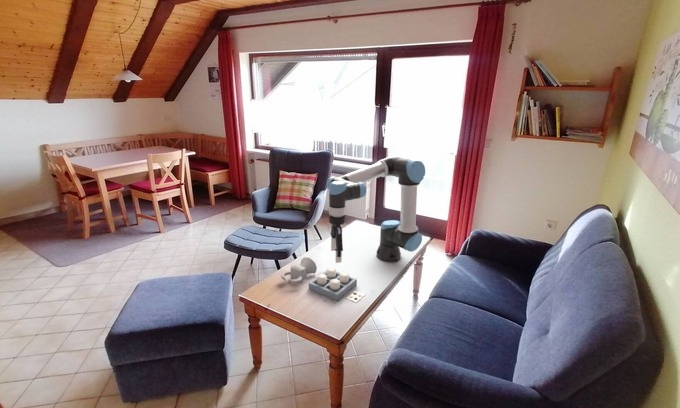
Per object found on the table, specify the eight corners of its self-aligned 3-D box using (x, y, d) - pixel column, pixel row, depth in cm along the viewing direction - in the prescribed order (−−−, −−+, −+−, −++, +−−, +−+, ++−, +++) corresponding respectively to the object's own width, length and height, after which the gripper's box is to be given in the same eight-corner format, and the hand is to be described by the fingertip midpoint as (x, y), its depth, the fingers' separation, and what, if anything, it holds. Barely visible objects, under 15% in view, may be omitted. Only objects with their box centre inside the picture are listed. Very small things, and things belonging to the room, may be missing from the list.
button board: (329, 275, 190) (329, 268, 189) (356, 285, 181) (356, 279, 179) (308, 289, 176) (308, 282, 175) (337, 301, 166) (337, 294, 165)
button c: (342, 277, 182) (342, 271, 180) (350, 281, 179) (351, 274, 178) (337, 282, 178) (337, 275, 176) (345, 285, 175) (345, 278, 174)
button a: (333, 284, 175) (333, 277, 174) (342, 288, 172) (342, 281, 171) (327, 289, 171) (327, 282, 170) (336, 292, 168) (336, 285, 167)
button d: (330, 273, 186) (330, 266, 185) (337, 276, 183) (338, 269, 182) (324, 277, 182) (324, 270, 181) (332, 280, 179) (332, 273, 178)
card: (354, 291, 176) (354, 290, 175) (364, 295, 172) (364, 294, 172) (346, 298, 169) (346, 297, 169) (356, 302, 166) (356, 301, 166)
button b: (320, 279, 180) (320, 272, 178) (328, 282, 177) (328, 276, 176) (314, 283, 176) (314, 277, 174) (322, 287, 173) (322, 280, 172)
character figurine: (301, 267, 198) (278, 283, 182) (300, 253, 195) (277, 268, 179) (319, 273, 191) (297, 291, 175) (319, 259, 188) (296, 276, 172)
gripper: (325, 206, 170) (324, 245, 176) (333, 224, 147) (332, 268, 154) (340, 205, 171) (339, 244, 178) (350, 223, 148) (348, 267, 155)
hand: (336, 256), depth 166 cm, fingers open, 12 cm apart
